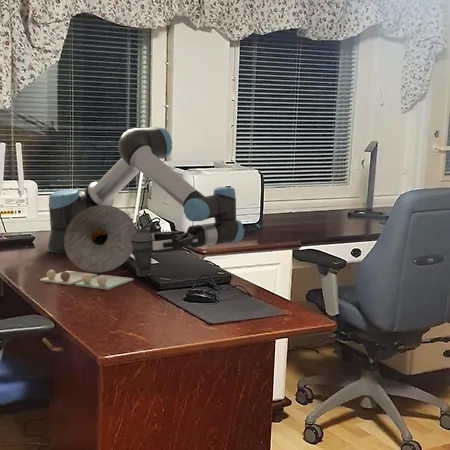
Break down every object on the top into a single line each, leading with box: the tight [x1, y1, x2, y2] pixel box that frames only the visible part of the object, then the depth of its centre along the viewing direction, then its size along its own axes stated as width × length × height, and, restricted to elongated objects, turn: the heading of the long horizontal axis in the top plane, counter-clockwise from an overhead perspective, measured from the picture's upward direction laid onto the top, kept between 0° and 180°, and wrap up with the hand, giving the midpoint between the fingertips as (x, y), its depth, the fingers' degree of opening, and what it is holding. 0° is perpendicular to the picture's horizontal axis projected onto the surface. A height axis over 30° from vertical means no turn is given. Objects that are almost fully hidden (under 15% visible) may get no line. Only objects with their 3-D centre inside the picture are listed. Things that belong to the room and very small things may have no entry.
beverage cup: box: [131, 214, 153, 277], centre depth 243 cm, size 7×7×20 cm
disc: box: [64, 205, 137, 274], centre depth 261 cm, size 25×18×25 cm
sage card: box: [74, 274, 134, 291], centre depth 235 cm, size 13×13×4 cm
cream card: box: [39, 269, 98, 286], centre depth 243 cm, size 13×13×4 cm
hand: (144, 242), depth 243 cm, fingers open, 13 cm apart
